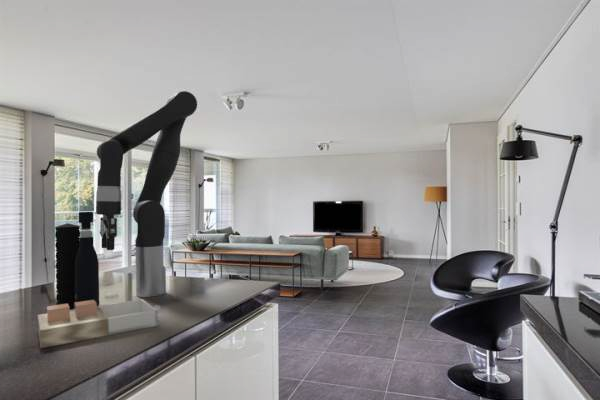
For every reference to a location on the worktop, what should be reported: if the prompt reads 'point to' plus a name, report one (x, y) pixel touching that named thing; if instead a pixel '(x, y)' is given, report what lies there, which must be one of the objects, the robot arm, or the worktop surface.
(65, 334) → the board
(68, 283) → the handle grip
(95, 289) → the wine bottle
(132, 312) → the tray
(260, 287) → the worktop surface
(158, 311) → the chef's knife
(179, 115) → the robot arm
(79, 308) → the tile
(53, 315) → the tile
